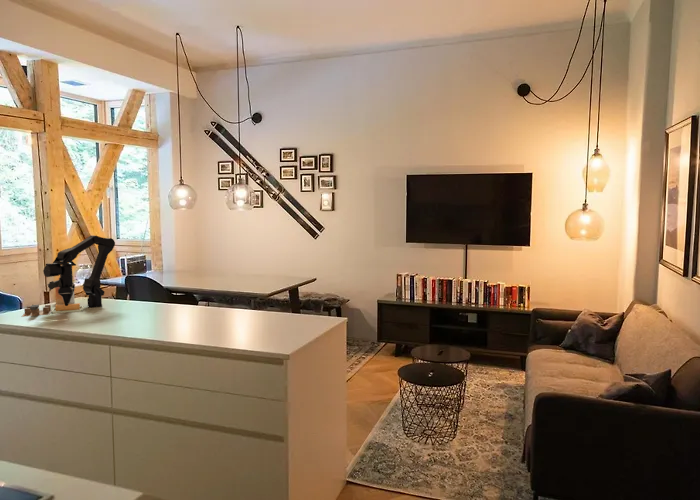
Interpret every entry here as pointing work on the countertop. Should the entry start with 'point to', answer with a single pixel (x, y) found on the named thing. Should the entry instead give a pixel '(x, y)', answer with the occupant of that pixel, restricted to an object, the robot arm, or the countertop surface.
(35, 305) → the tie
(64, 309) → the wooden rectangular block
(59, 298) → the small box
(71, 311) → the tray
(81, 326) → the countertop surface
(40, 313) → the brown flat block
